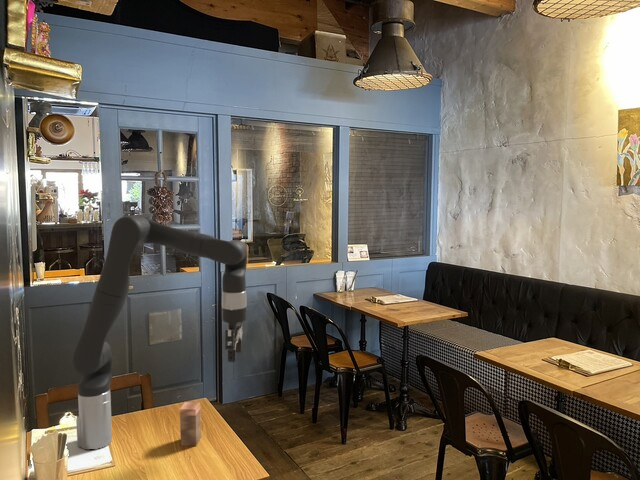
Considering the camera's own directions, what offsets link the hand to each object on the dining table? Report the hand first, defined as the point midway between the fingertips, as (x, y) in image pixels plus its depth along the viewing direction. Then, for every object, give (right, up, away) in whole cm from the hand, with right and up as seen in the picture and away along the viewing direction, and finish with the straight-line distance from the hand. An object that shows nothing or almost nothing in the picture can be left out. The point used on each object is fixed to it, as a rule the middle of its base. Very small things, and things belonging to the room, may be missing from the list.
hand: (234, 356), depth 150 cm
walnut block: (-15, -29, +5) cm, 33 cm away
